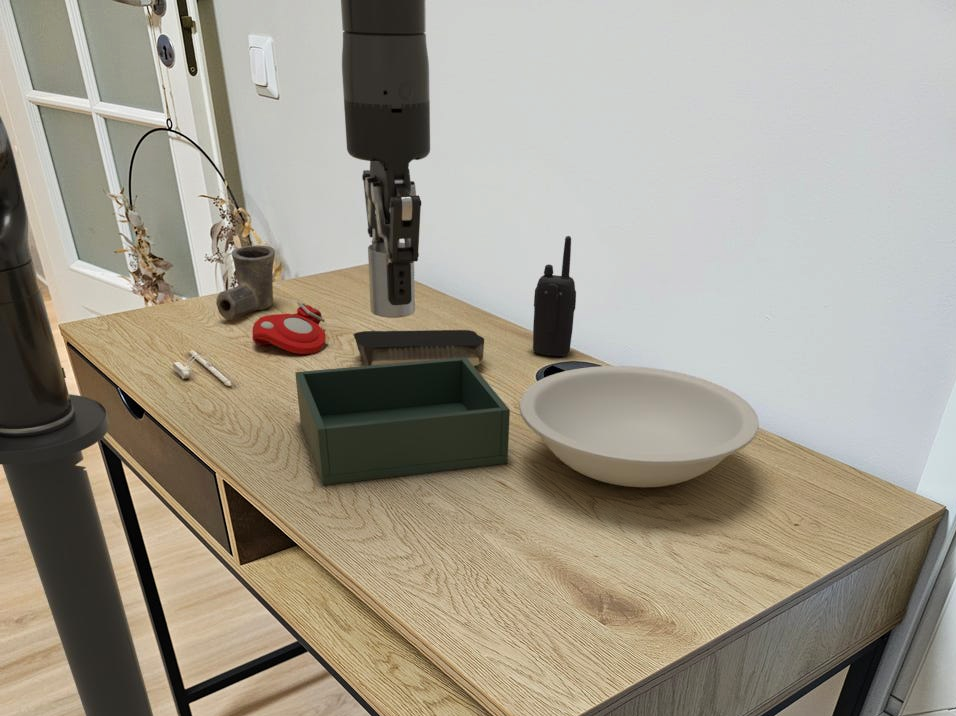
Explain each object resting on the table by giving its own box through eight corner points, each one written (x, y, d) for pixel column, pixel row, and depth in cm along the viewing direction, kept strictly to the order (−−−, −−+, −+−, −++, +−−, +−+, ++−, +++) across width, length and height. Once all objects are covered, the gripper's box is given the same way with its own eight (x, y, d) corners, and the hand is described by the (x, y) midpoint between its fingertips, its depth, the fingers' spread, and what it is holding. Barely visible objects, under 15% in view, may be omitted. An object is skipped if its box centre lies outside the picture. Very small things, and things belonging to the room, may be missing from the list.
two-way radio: (573, 351, 121) (583, 234, 112) (567, 362, 118) (577, 242, 109) (533, 347, 122) (540, 230, 113) (527, 358, 119) (533, 239, 110)
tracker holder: (332, 346, 117) (255, 332, 114) (326, 374, 120) (251, 362, 117) (326, 298, 125) (254, 283, 121) (321, 326, 128) (250, 313, 125)
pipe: (210, 321, 128) (201, 263, 123) (255, 297, 138) (248, 242, 133) (248, 327, 126) (240, 268, 122) (290, 301, 136) (284, 246, 131)
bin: (322, 485, 89) (317, 429, 85) (300, 423, 100) (295, 371, 97) (507, 463, 94) (510, 409, 90) (465, 406, 105) (466, 356, 102)
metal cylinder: (375, 319, 86) (373, 254, 83) (366, 305, 90) (363, 242, 86) (419, 316, 87) (418, 251, 84) (409, 303, 91) (407, 240, 87)
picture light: (233, 387, 108) (231, 370, 107) (199, 394, 106) (196, 377, 105) (193, 353, 117) (190, 337, 116) (161, 359, 115) (157, 342, 114)
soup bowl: (548, 533, 82) (554, 469, 78) (495, 427, 101) (497, 370, 97) (786, 514, 86) (803, 451, 82) (692, 415, 105) (702, 360, 101)
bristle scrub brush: (359, 377, 112) (357, 348, 110) (356, 353, 119) (355, 326, 116) (486, 373, 114) (487, 345, 112) (477, 350, 121) (477, 323, 119)
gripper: (330, 86, 82) (343, 279, 92) (360, 106, 71) (371, 321, 81) (409, 85, 84) (413, 274, 94) (450, 104, 73) (450, 315, 83)
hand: (394, 295), depth 88 cm, fingers closed on metal cylinder, 4 cm apart
